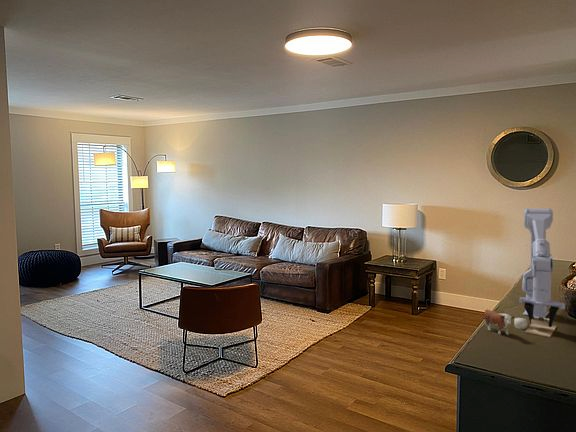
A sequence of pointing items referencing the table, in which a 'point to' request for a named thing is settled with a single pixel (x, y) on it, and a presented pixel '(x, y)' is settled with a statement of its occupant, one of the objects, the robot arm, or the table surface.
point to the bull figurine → (497, 320)
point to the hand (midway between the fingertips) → (540, 324)
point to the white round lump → (520, 323)
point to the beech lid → (540, 321)
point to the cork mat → (540, 330)
